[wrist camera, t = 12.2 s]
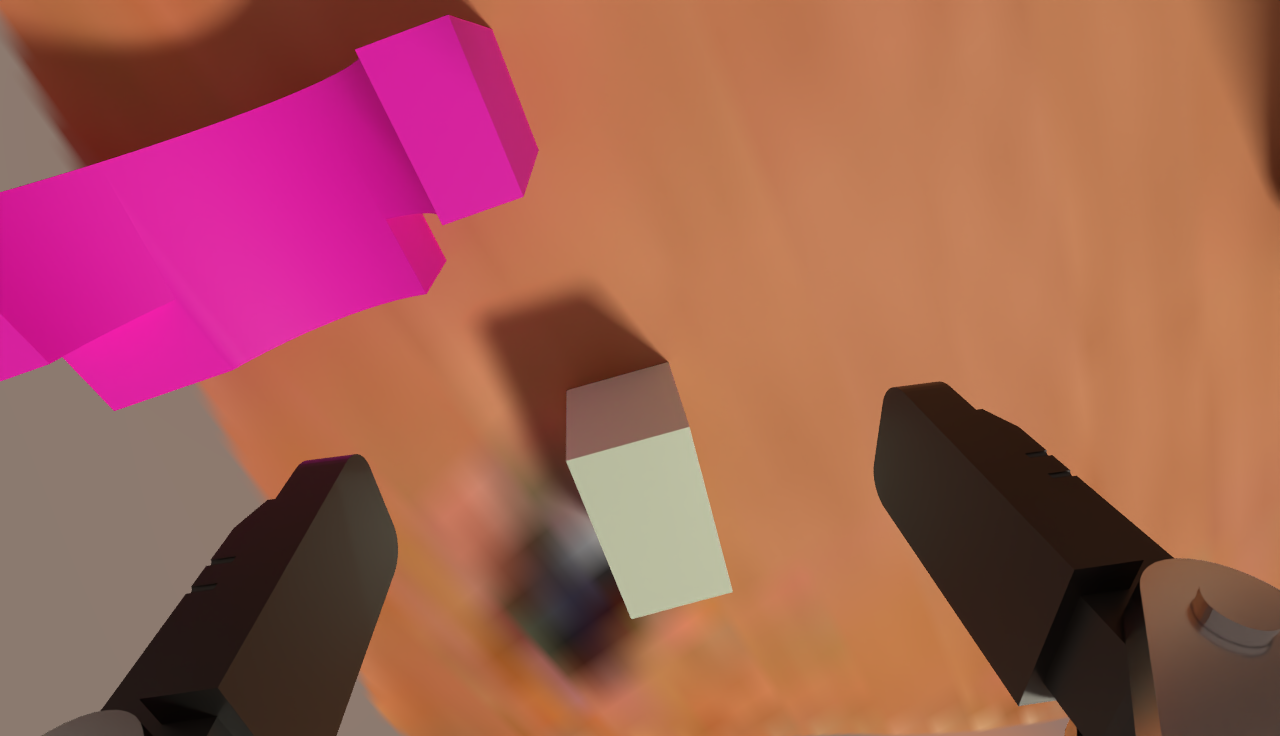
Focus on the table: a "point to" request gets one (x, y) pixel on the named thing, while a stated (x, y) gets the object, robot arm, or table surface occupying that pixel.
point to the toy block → (261, 218)
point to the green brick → (645, 490)
